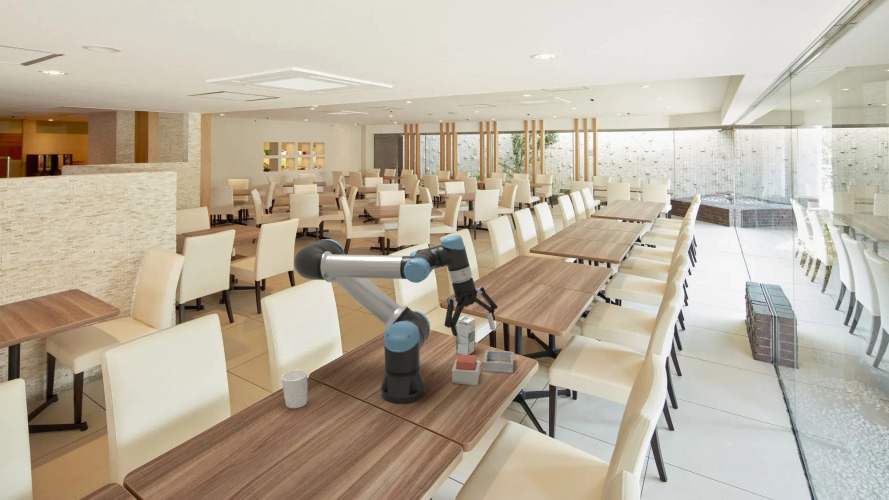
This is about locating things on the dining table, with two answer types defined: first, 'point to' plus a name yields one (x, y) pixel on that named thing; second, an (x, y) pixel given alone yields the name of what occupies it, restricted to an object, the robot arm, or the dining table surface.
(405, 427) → the dining table surface
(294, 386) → the white cup
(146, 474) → the dining table surface
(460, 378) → the switch box
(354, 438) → the dining table surface
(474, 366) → the button
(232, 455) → the dining table surface
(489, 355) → the frame
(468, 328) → the syrup box
